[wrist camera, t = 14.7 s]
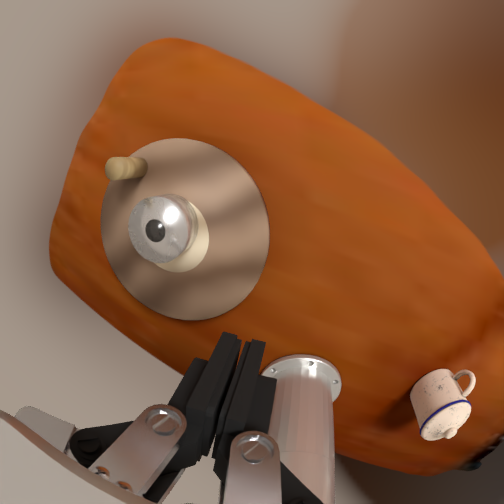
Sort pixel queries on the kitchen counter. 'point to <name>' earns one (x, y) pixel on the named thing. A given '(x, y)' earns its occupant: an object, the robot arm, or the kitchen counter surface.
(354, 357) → the kitchen counter surface
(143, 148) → the disc
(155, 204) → the cover
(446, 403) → the teacup with lid
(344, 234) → the kitchen counter surface
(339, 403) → the kitchen counter surface
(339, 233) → the kitchen counter surface
